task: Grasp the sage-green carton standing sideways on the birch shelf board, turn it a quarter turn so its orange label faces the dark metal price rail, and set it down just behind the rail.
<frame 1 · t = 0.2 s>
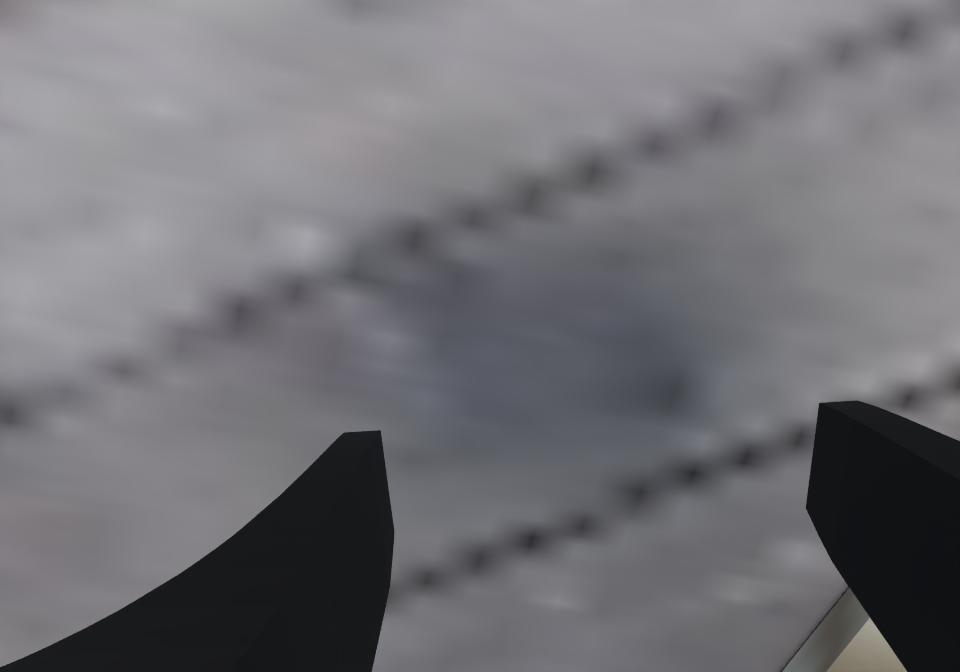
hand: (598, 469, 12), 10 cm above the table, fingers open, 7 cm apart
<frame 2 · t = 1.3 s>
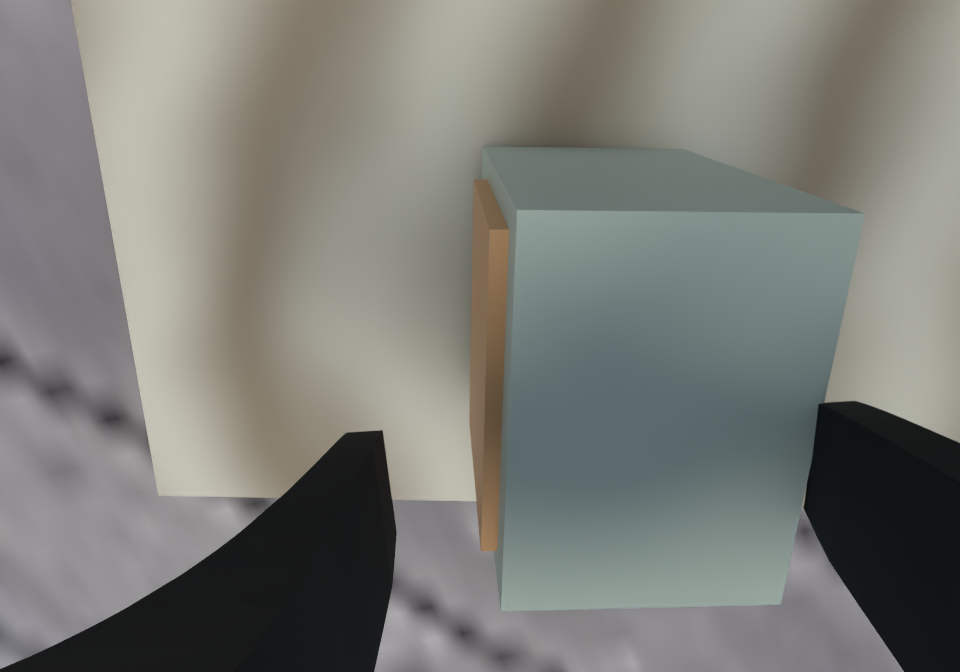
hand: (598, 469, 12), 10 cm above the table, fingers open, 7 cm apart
carton: (574, 284, 19), point 2 cm above the table, touching gripper, shelf board
shelf board: (571, 195, 20), on the table
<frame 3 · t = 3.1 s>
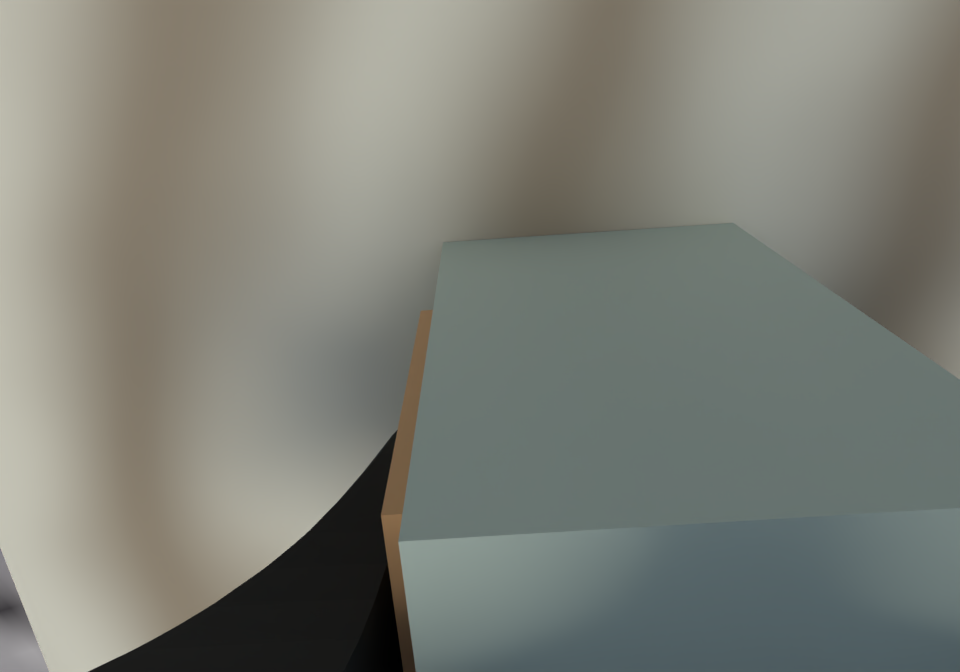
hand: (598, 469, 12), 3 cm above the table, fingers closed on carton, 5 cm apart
carton: (589, 411, 14), point 2 cm above the table, touching gripper, shelf board
shelf board: (569, 287, 14), on the table
when the fingers open (4 cm above the table, at t = 7.0 s): carton stays where it is, resting on shelf board.
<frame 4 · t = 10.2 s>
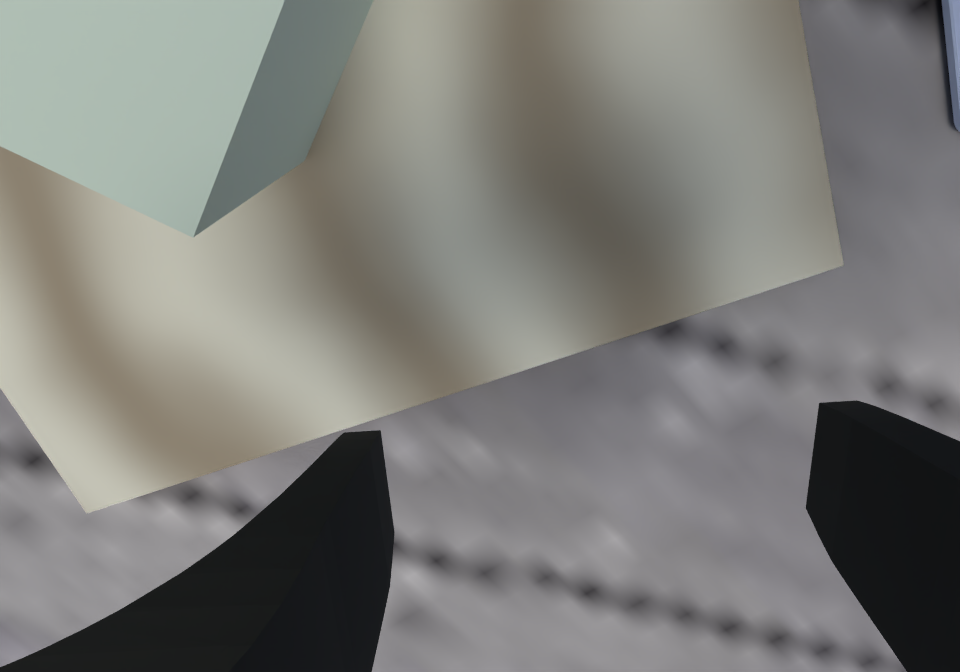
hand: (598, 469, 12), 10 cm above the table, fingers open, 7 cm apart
shelf board: (323, 94, 19), on the table
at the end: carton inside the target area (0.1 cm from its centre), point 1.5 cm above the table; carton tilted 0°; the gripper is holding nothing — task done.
